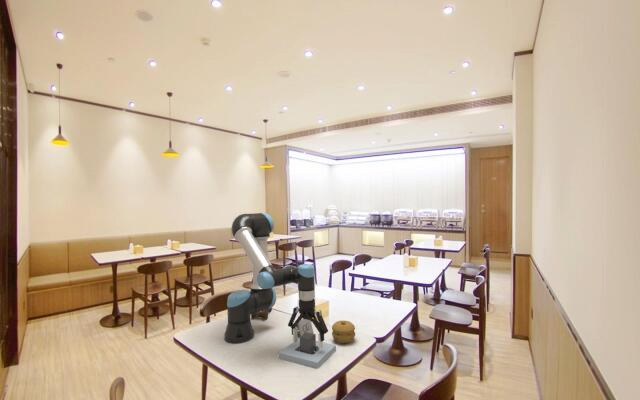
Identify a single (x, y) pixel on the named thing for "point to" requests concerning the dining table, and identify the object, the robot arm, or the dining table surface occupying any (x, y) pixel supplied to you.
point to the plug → (308, 343)
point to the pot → (343, 331)
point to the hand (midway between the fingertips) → (307, 345)
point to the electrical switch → (304, 327)
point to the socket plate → (306, 359)
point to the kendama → (261, 314)
